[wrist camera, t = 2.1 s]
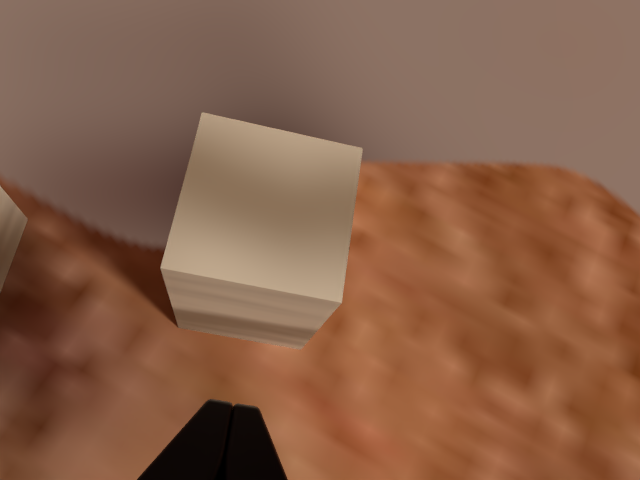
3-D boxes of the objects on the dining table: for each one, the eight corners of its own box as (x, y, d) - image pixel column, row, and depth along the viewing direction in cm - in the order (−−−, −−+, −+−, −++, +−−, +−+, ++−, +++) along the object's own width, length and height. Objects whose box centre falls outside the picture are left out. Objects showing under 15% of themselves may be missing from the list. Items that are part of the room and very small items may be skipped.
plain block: (300, 349, 23) (341, 302, 15) (178, 327, 22) (160, 268, 15) (318, 237, 25) (362, 148, 17) (206, 215, 24) (201, 112, 17)
